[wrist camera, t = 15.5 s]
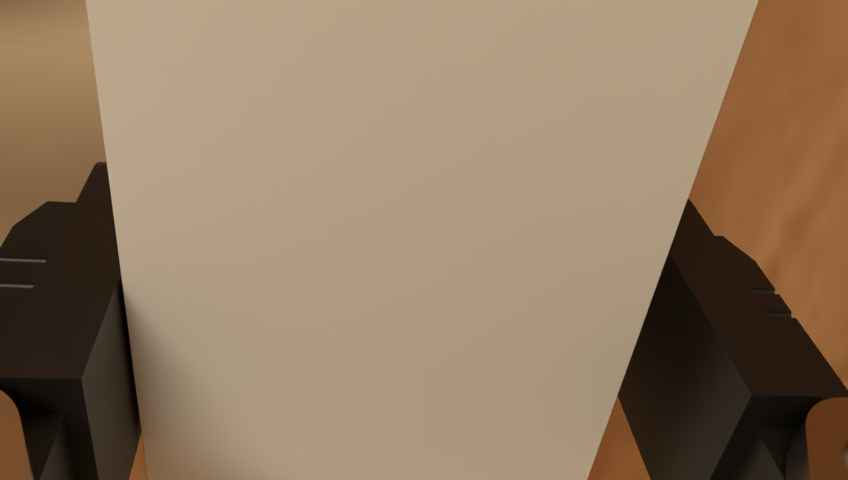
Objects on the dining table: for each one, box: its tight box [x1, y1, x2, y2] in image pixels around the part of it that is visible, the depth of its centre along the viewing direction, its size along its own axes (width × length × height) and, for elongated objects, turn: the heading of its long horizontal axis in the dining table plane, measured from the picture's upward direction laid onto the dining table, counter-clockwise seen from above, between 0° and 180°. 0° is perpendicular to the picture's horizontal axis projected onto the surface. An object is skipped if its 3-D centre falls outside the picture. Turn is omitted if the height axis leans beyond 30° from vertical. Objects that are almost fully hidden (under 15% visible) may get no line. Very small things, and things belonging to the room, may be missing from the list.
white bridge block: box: [86, 0, 759, 480], centre depth 11 cm, size 12×5×8 cm, turn 174°
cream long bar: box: [0, 0, 107, 247], centre depth 13 cm, size 5×18×4 cm, turn 77°
